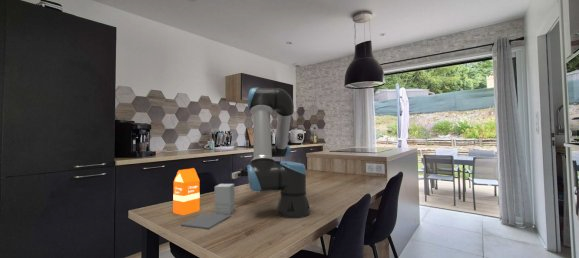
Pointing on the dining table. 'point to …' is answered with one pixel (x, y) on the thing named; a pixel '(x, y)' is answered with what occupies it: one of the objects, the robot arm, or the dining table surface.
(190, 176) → the orange juice
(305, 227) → the dining table surface
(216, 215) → the mat
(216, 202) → the supplement box
